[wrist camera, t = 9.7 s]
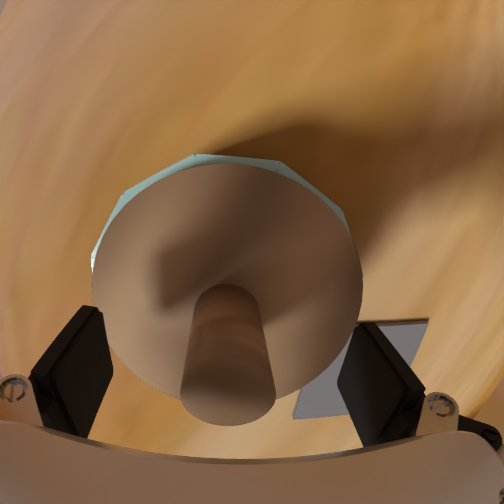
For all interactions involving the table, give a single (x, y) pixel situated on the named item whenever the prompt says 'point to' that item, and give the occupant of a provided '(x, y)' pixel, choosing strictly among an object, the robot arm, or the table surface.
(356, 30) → the table surface
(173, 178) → the lid
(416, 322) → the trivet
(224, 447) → the table surface
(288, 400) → the table surface
